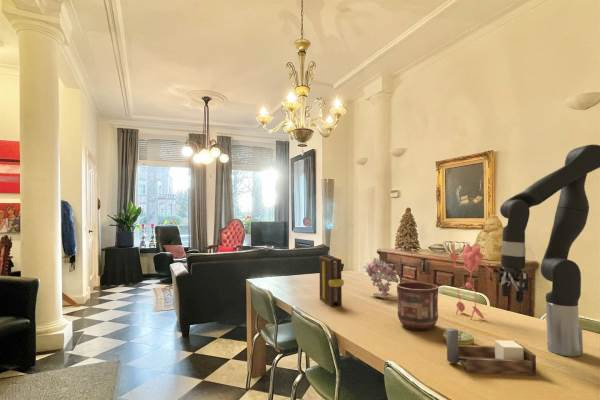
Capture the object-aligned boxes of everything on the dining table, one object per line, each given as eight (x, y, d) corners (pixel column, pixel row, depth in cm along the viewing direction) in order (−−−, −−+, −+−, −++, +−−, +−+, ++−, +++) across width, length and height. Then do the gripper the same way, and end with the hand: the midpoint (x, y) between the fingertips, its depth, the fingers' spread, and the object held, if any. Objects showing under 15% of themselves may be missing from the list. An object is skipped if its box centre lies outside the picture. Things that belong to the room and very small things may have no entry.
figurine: (484, 325, 152) (483, 246, 154) (442, 310, 176) (442, 242, 178) (510, 322, 157) (508, 245, 159) (466, 308, 181) (465, 241, 183)
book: (316, 298, 202) (316, 256, 203) (330, 297, 205) (329, 255, 206) (331, 308, 181) (330, 260, 182) (345, 306, 184) (345, 259, 185)
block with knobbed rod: (514, 359, 114) (513, 328, 114) (523, 367, 108) (522, 335, 108) (444, 356, 116) (443, 326, 117) (450, 364, 110) (449, 332, 111)
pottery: (443, 334, 140) (442, 290, 141) (398, 331, 144) (398, 288, 145) (435, 321, 158) (434, 282, 159) (395, 319, 161) (395, 281, 162)
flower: (414, 296, 200) (402, 255, 212) (385, 296, 189) (374, 254, 201) (390, 304, 215) (380, 266, 227) (363, 305, 204) (354, 265, 216)
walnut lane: (515, 358, 117) (515, 341, 117) (536, 375, 105) (535, 355, 105) (454, 356, 119) (454, 339, 119) (468, 372, 107) (467, 352, 107)
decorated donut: (455, 336, 139) (455, 327, 139) (480, 345, 130) (479, 335, 130) (437, 340, 134) (437, 331, 135) (461, 350, 125) (461, 339, 125)
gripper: (536, 257, 118) (535, 304, 118) (511, 252, 132) (510, 295, 132) (514, 256, 118) (513, 303, 118) (492, 251, 133) (491, 293, 132)
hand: (512, 298), depth 125 cm, fingers open, 8 cm apart
